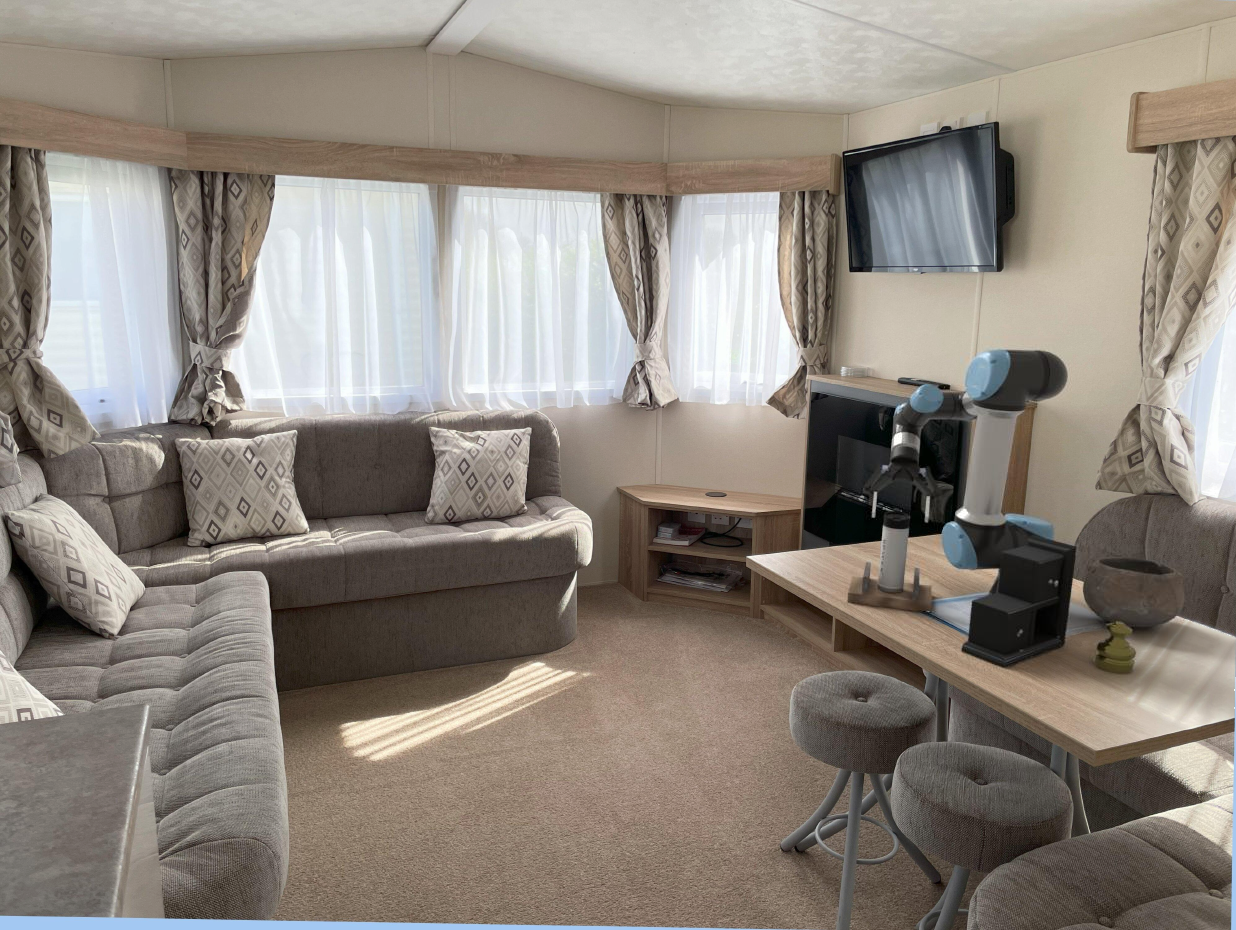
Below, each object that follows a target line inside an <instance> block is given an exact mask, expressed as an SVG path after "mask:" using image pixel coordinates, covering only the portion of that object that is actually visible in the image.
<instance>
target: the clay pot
mask: <svg viewBox="0 0 1236 930" xmlns="http://www.w3.org/2000/svg"><path fill="white" fill-rule="evenodd" d="M1185 579H1186V577H1185V576H1184V575H1183V574H1182V572H1179V571H1178V570H1176V569H1175V568H1172V567H1171V566H1169V565H1167V564H1164V563H1163V562H1160V563H1157V562H1156V561H1154V560H1150V559H1149V560H1148V559H1143V558H1136V557H1127V556H1126V557H1121V556H1119V557H1118V556H1117V557H1116V556H1115V557H1113V556H1112V557H1100V558H1098V559H1097V560H1095V561H1094V562H1093V563H1090V564H1089V566H1088V567H1087V572H1086V575H1085V577H1084V580H1083V584H1082V593H1083V599H1084V601H1085V603H1086V605H1087V606H1088V608H1089V609H1090V610H1091V612H1093V614H1095V615H1096V616H1097V617H1099V618H1101V619H1102V620H1104V621H1107V622H1109V623H1112V622H1117V621H1118V622H1123V623H1124V624H1125V625H1127V626H1129V627H1130V628H1132V627H1133V628H1152V627H1157V626H1160V625H1164V624H1166V623H1168V622H1170V621H1172V620H1174V619H1175V618H1176V617H1177V616H1178V615H1179V614H1180V612H1181V611H1182V610H1183V608H1184V604H1185V597H1186V596H1185V586H1184V580H1185Z"/></svg>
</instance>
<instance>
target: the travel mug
mask: <svg viewBox="0 0 1236 930" xmlns="http://www.w3.org/2000/svg"><path fill="white" fill-rule="evenodd" d="M910 518H911V517H910V515H909V514H907V513H905V512H902V510H896V509H894V510H893V511H886V512H885V513H884V514H883V525H882V533H881V534H882V536H881V546H880V547H881V548H880V556H879V567H878V578H877V579H878V581H879V582H878V588H879V589H880V590H881V591H884V592H889V593H899V592H902V591H903V587H904V585H903V584H904V583H905V574H906V573H905V572H906V566H907V565H906V563H907V553H908V541H909V531H910V520H911V519H910Z"/></svg>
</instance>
